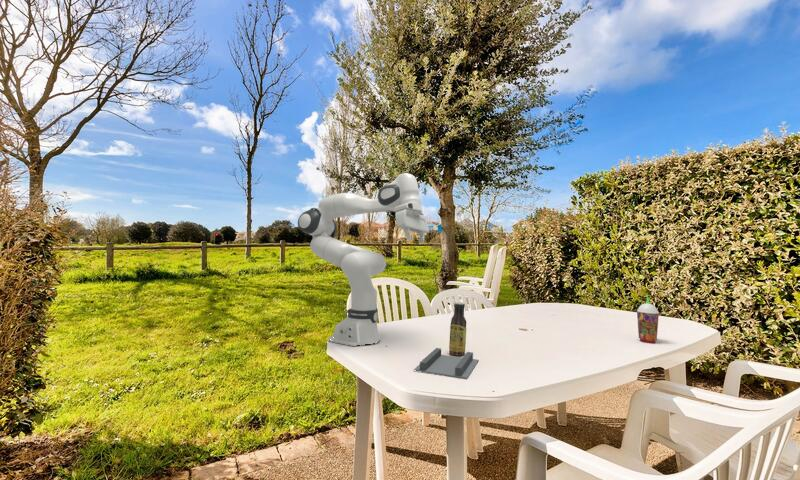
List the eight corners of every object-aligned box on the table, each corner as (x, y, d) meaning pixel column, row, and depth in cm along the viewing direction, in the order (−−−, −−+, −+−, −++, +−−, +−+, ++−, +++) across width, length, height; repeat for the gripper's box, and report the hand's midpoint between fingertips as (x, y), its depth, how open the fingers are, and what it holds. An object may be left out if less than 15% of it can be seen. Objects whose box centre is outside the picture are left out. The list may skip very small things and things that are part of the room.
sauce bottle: (446, 355, 141) (447, 303, 141) (452, 351, 146) (452, 301, 147) (463, 357, 138) (463, 304, 138) (468, 353, 143) (468, 302, 144)
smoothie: (640, 343, 162) (640, 298, 163) (634, 338, 170) (634, 295, 171) (662, 344, 160) (662, 299, 160) (654, 340, 168) (655, 296, 168)
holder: (413, 371, 122) (413, 362, 122) (431, 354, 141) (431, 347, 141) (467, 379, 115) (467, 369, 115) (478, 361, 134) (478, 352, 134)
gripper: (417, 215, 165) (422, 245, 162) (391, 207, 149) (395, 240, 145) (429, 212, 162) (434, 242, 159) (404, 202, 145) (409, 236, 142)
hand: (415, 241), depth 152 cm, fingers open, 8 cm apart
